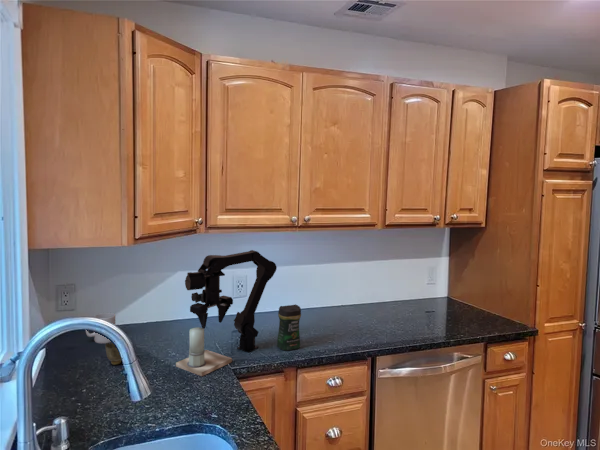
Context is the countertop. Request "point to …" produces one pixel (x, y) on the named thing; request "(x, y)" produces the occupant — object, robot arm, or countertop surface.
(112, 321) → the mug
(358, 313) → the countertop surface
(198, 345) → the light bulb
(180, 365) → the mounting board
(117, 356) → the cup
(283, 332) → the coffee jar
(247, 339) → the robot arm
